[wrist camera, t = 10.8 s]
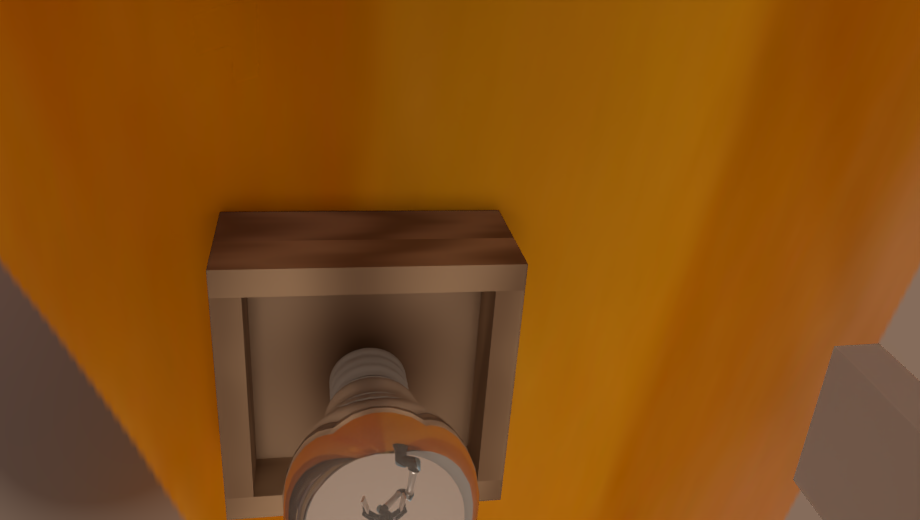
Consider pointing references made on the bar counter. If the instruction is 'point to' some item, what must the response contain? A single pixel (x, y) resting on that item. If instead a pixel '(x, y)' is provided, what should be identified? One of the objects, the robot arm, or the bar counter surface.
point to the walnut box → (359, 329)
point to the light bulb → (379, 453)
